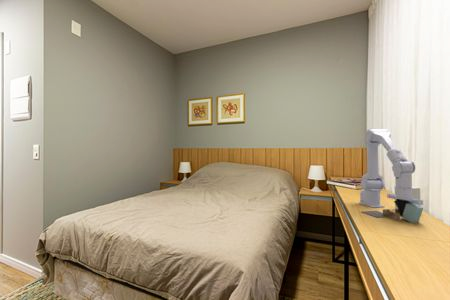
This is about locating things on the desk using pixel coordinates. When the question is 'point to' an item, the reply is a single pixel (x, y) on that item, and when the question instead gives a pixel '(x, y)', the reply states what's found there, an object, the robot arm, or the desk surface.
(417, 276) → the desk surface
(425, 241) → the desk surface
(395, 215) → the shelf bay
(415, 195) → the supplement box
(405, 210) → the block
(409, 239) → the desk surface
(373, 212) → the mat
